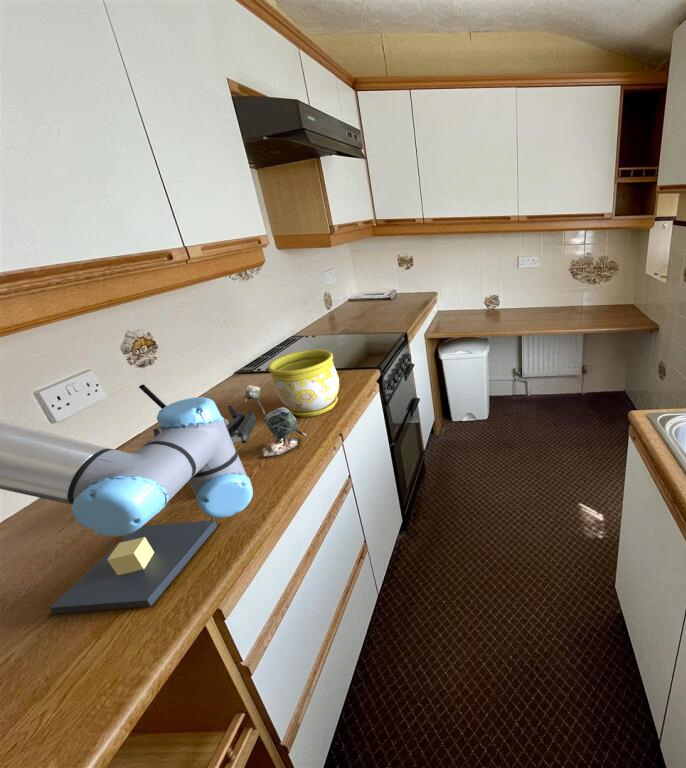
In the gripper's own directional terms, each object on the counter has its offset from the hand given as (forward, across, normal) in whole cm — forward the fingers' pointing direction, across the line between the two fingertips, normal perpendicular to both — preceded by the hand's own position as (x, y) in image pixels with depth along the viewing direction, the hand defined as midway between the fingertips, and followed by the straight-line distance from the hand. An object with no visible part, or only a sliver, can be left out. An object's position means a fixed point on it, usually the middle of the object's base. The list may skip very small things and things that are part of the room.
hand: (196, 421), depth 90 cm
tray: (-19, -16, -16) cm, 29 cm away
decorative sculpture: (+4, +15, -17) cm, 23 cm away
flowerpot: (+22, +29, -17) cm, 40 cm away
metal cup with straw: (-3, 0, -17) cm, 17 cm away
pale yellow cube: (-20, -16, -15) cm, 29 cm away
